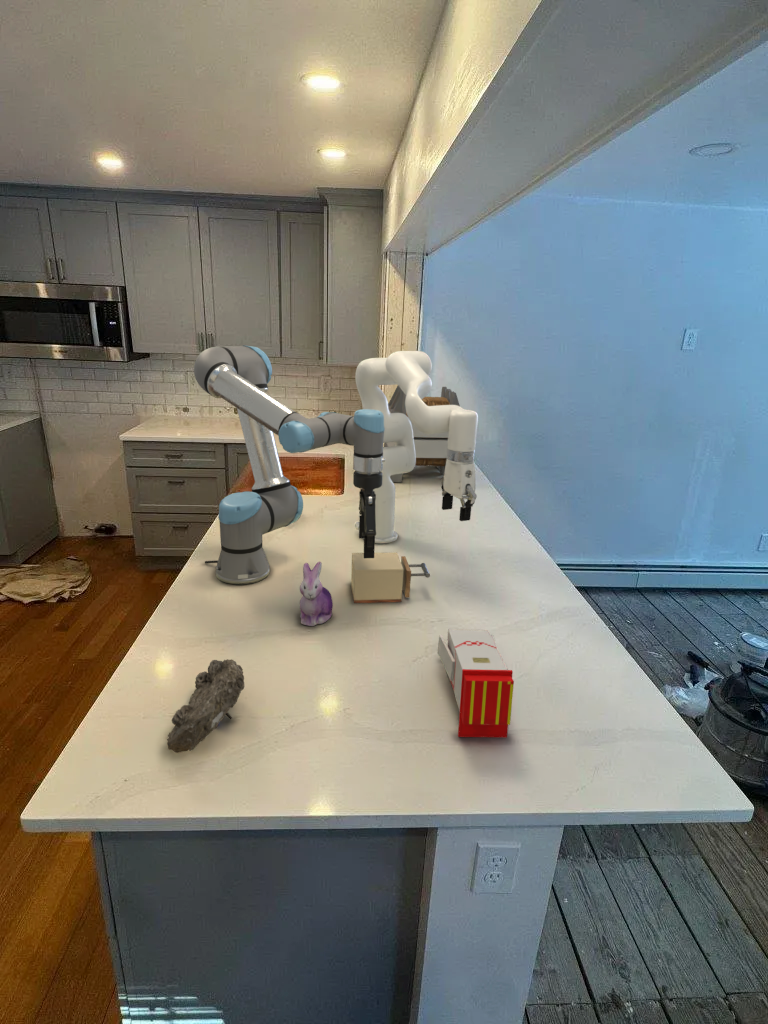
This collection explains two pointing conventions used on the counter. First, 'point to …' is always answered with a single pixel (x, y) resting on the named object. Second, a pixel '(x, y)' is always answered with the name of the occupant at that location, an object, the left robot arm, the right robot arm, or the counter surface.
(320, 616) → the figurine
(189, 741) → the fossil
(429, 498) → the counter surface
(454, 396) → the transformer
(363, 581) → the lidded box
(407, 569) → the drawer
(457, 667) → the toy
